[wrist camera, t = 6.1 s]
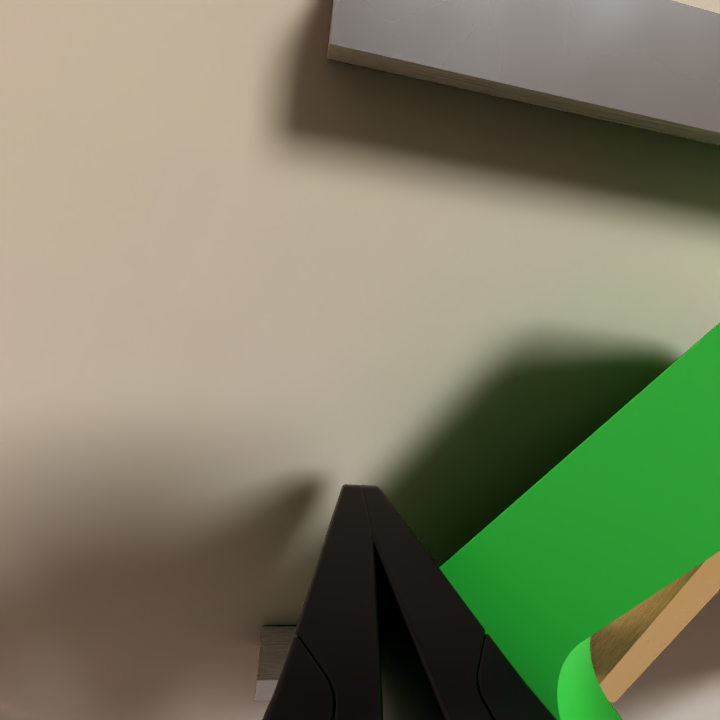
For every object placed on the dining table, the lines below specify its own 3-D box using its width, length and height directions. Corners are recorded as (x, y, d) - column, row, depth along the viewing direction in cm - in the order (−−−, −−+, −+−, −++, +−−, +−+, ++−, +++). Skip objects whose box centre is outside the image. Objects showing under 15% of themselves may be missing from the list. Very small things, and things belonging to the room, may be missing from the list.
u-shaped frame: (983, 125, 8) (1148, 126, 6) (585, 645, 16) (614, 702, 15) (338, -47, 6) (347, -104, 4) (260, 647, 14) (253, 712, 13)
